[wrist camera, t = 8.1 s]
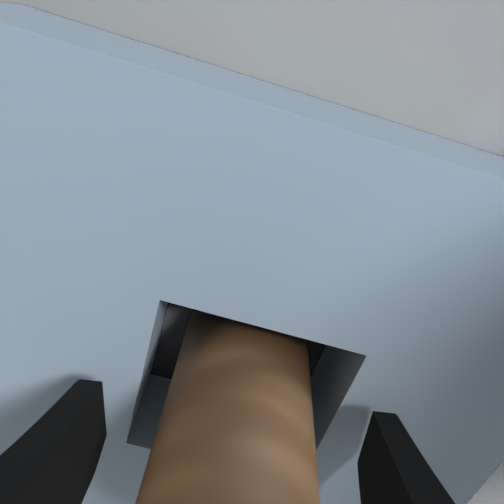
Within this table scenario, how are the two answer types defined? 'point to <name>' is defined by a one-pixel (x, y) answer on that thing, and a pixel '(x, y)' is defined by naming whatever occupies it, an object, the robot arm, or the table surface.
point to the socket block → (240, 250)
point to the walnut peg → (235, 420)
